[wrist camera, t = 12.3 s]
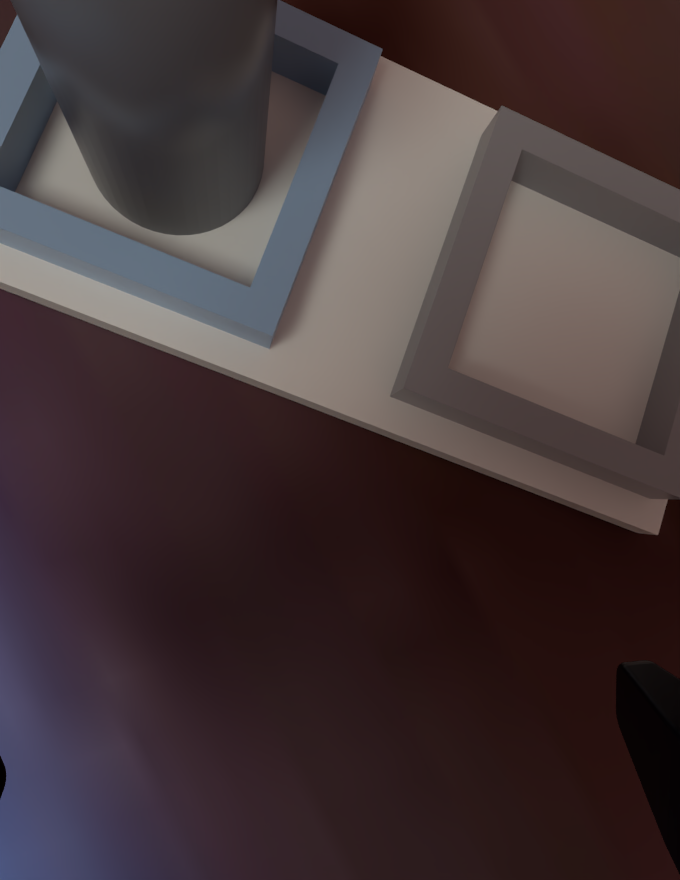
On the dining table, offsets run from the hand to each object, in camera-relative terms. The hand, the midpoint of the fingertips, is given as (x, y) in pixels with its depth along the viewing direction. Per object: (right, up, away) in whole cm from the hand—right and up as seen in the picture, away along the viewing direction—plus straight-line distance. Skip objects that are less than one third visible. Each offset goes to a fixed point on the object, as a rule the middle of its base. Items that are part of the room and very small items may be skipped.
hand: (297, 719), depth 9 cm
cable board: (+2, +10, +11) cm, 15 cm away
